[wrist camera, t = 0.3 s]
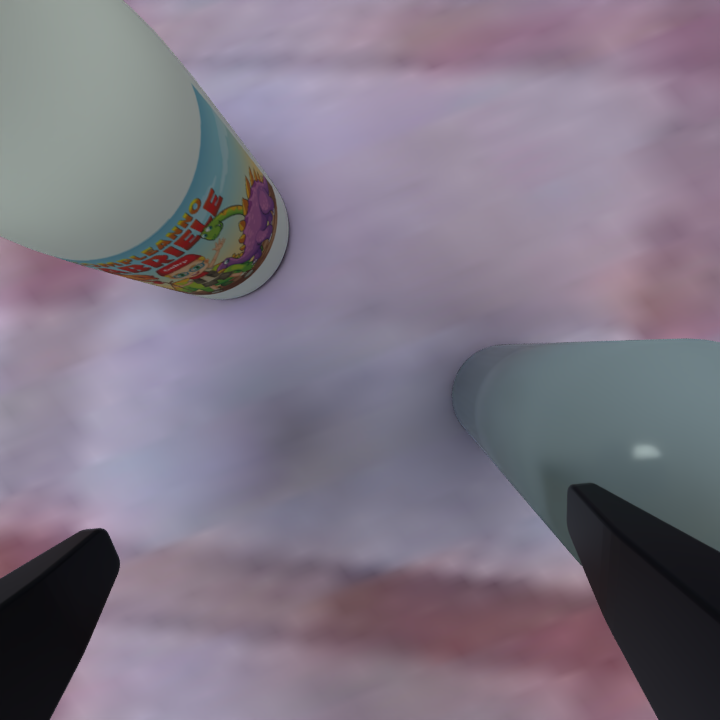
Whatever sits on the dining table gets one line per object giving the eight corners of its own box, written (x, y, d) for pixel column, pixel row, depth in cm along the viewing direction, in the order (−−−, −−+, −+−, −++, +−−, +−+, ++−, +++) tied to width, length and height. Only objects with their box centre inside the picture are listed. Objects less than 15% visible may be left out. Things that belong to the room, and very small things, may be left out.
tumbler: (522, 466, 23) (729, 659, 9) (432, 413, 23) (491, 516, 9) (578, 377, 22) (888, 429, 8) (486, 325, 22) (634, 288, 9)
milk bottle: (134, 225, 24) (-1147, -372, 4) (233, 135, 23) (-709, -1103, 3) (217, 329, 24) (-713, 233, 4) (319, 240, 23) (-155, -432, 3)
